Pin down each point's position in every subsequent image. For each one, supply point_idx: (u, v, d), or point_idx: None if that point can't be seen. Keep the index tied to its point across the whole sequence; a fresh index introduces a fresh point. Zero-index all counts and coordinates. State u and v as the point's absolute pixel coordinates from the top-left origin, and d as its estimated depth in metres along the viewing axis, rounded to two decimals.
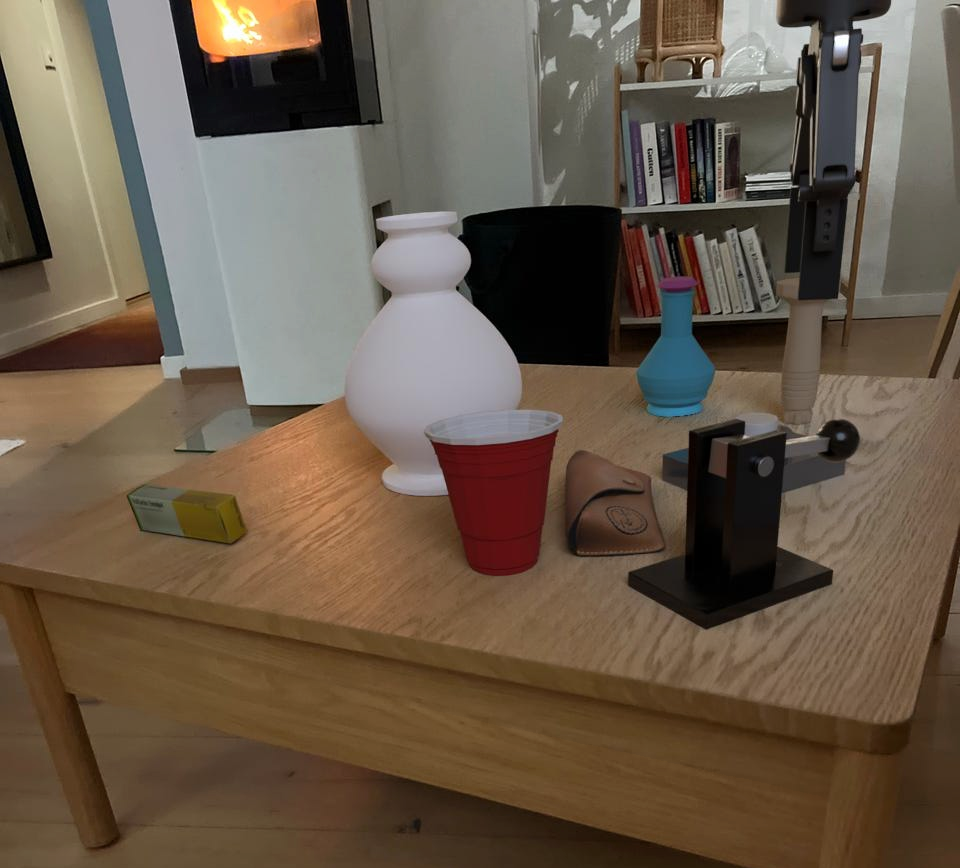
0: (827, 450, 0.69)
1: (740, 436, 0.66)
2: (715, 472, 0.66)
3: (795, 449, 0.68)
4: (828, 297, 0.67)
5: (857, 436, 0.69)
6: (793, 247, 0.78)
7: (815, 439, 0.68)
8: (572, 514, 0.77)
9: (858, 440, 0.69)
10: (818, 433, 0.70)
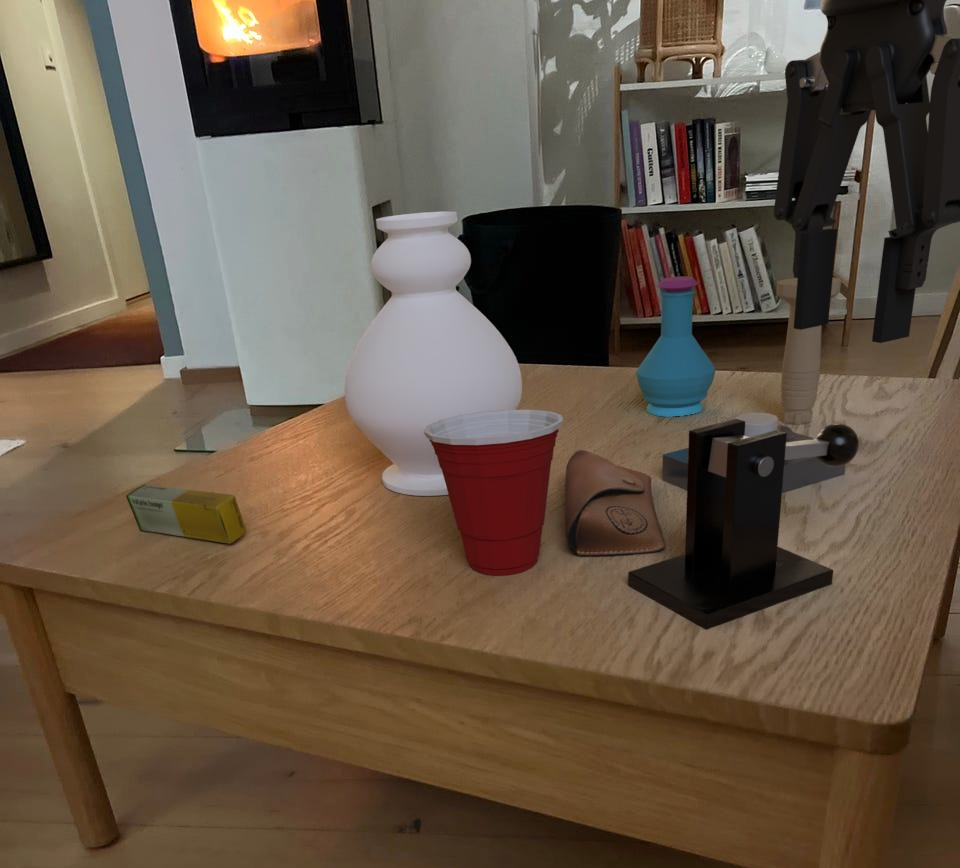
0: (826, 454, 0.69)
1: (740, 436, 0.66)
2: (715, 471, 0.66)
3: (795, 452, 0.68)
4: (902, 336, 0.64)
5: (856, 441, 0.69)
6: (809, 300, 0.68)
7: (815, 442, 0.69)
8: (572, 514, 0.77)
9: (857, 445, 0.69)
10: (817, 437, 0.70)
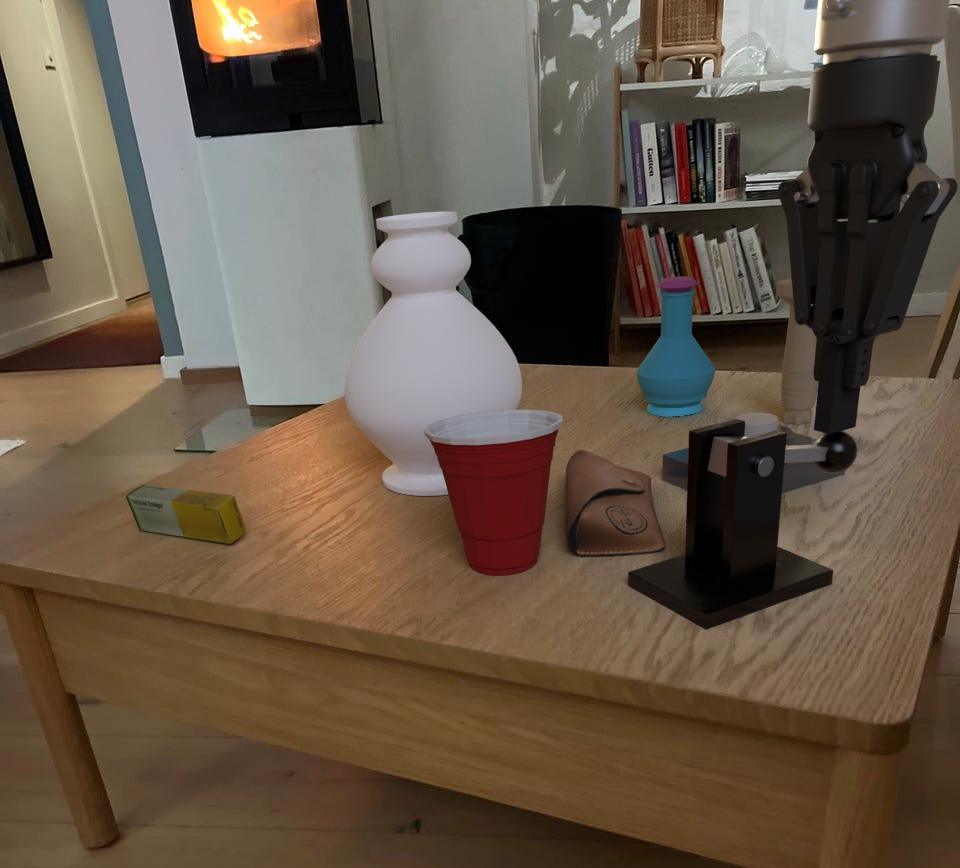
0: (825, 460, 0.70)
1: (741, 437, 0.66)
2: (714, 470, 0.66)
3: (794, 455, 0.68)
4: (849, 427, 0.69)
5: (855, 448, 0.69)
6: None
7: (814, 447, 0.69)
8: (572, 514, 0.77)
9: (856, 452, 0.69)
10: (817, 443, 0.70)
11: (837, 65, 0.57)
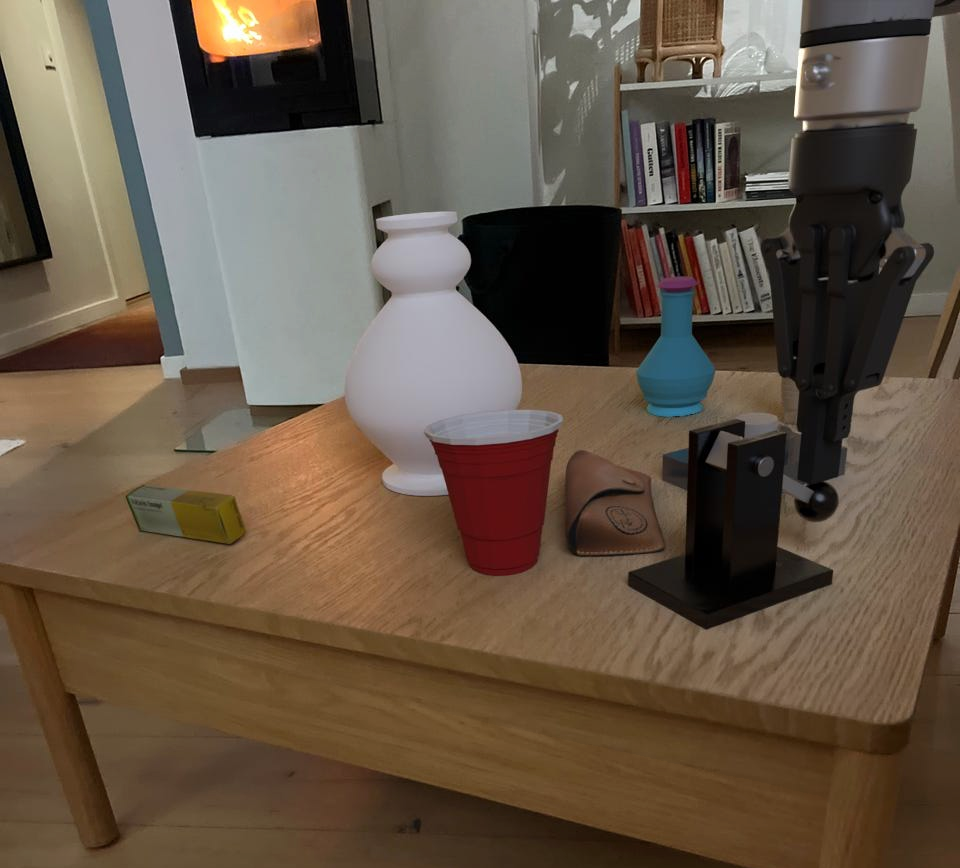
0: (808, 502, 0.70)
1: None
2: (713, 462, 0.65)
3: (784, 482, 0.68)
4: (832, 477, 0.70)
5: (837, 501, 0.71)
6: None
7: (802, 485, 0.70)
8: (572, 514, 0.77)
9: (837, 505, 0.71)
10: None
11: (816, 133, 0.58)
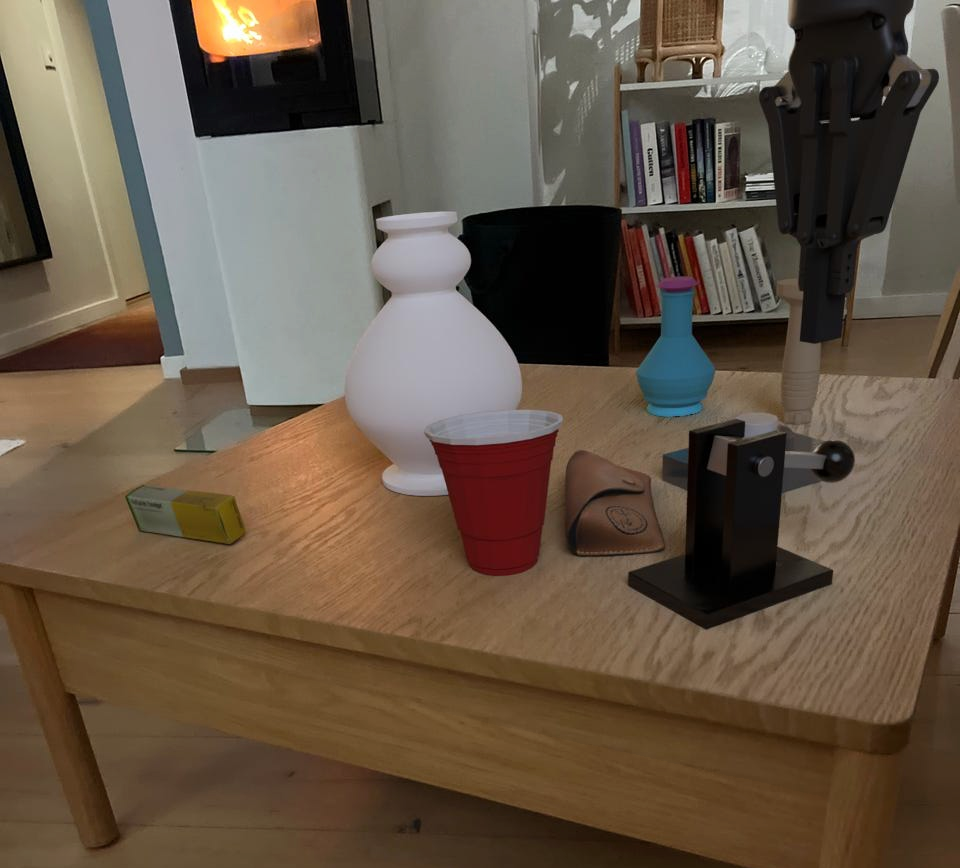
0: (822, 468, 0.70)
1: (742, 438, 0.66)
2: (714, 469, 0.66)
3: (793, 460, 0.68)
4: (835, 337, 0.69)
5: (853, 458, 0.70)
6: None
7: (812, 454, 0.69)
8: (572, 514, 0.77)
9: (853, 462, 0.70)
10: (815, 451, 0.70)
11: None
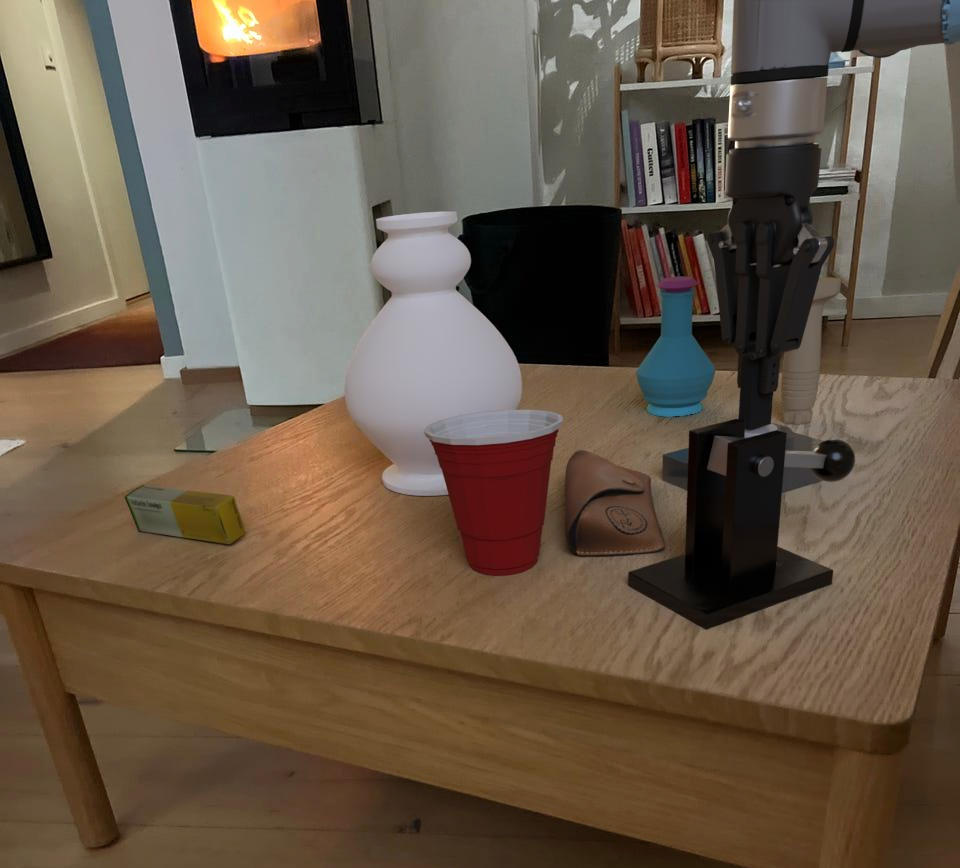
0: (823, 467, 0.70)
1: (742, 438, 0.66)
2: (714, 469, 0.66)
3: (793, 460, 0.68)
4: (765, 424, 0.88)
5: (853, 457, 0.70)
6: None
7: (812, 454, 0.69)
8: (572, 514, 0.77)
9: (853, 461, 0.70)
10: (815, 450, 0.70)
11: (743, 151, 0.76)
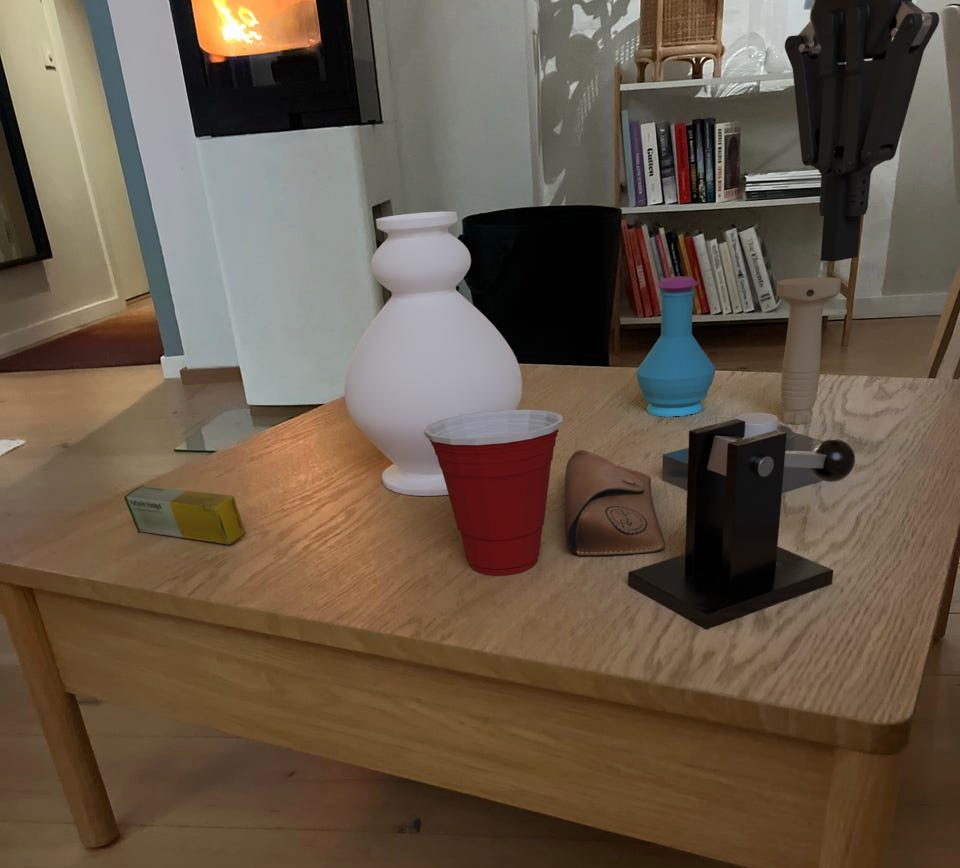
0: (823, 467, 0.70)
1: (742, 438, 0.66)
2: (714, 469, 0.66)
3: (793, 460, 0.68)
4: (852, 256, 0.79)
5: (853, 457, 0.70)
6: None
7: (812, 454, 0.69)
8: (572, 514, 0.77)
9: (853, 461, 0.70)
10: (815, 450, 0.70)
11: None
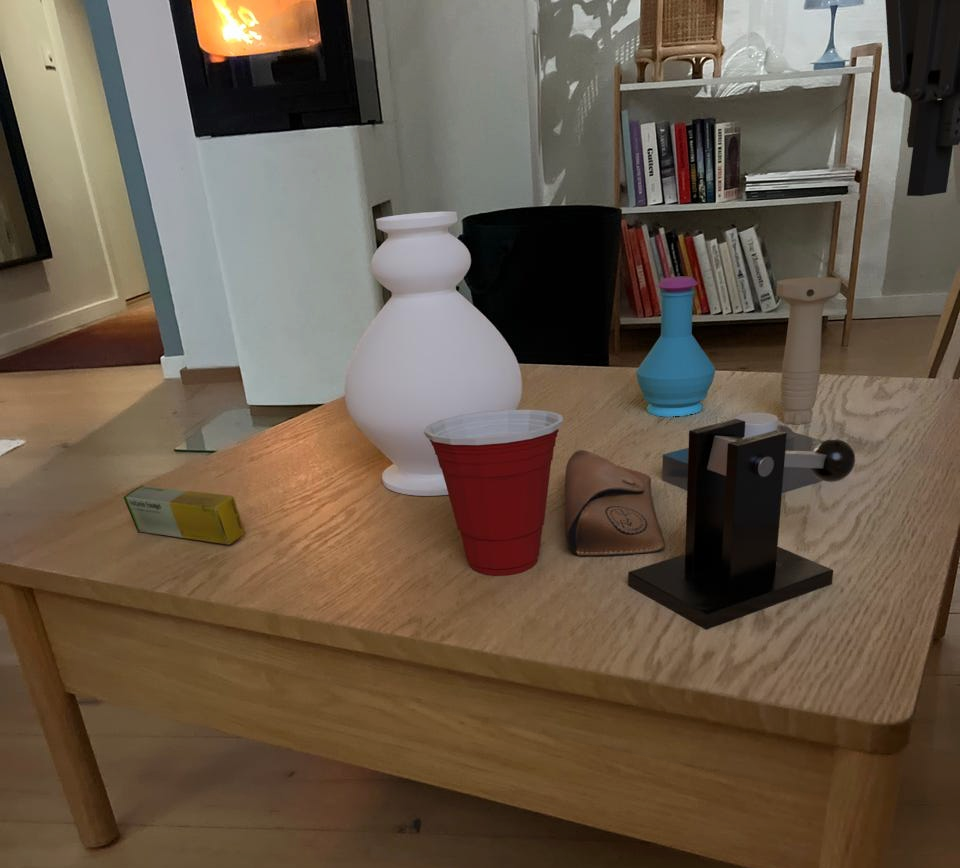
0: (823, 467, 0.70)
1: (742, 438, 0.66)
2: (714, 469, 0.66)
3: (793, 460, 0.68)
4: (940, 191, 0.74)
5: (853, 457, 0.70)
6: None
7: (812, 454, 0.69)
8: (572, 514, 0.77)
9: (853, 461, 0.70)
10: (815, 450, 0.70)
11: None
